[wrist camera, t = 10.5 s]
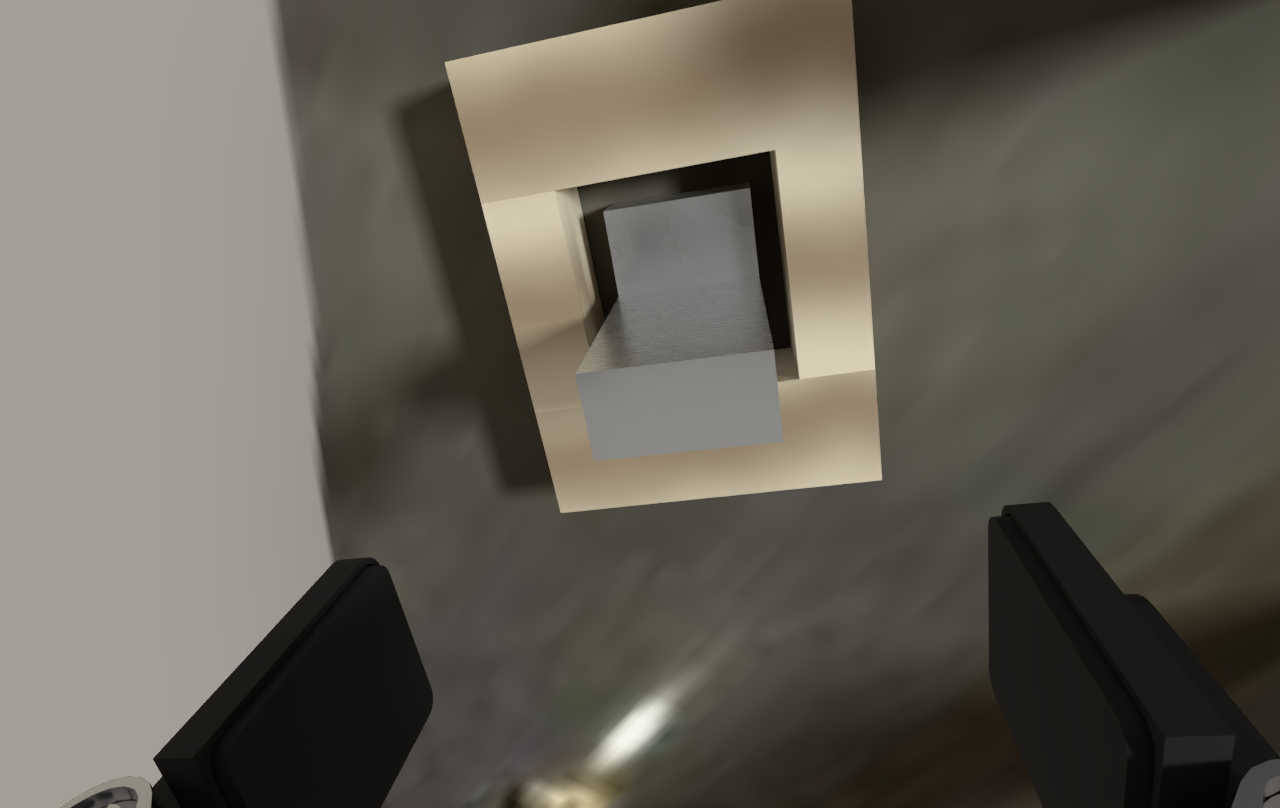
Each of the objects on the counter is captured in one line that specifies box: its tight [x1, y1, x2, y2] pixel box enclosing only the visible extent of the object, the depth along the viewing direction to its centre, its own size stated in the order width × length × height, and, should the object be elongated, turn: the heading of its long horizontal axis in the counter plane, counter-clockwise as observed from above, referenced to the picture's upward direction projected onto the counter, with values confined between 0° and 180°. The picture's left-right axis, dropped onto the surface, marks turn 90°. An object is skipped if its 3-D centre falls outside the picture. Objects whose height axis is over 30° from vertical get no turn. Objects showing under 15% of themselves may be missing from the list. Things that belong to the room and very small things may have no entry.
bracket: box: [575, 182, 783, 461], centre depth 22 cm, size 6×5×10 cm
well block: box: [445, 0, 882, 513], centre depth 25 cm, size 16×12×4 cm
